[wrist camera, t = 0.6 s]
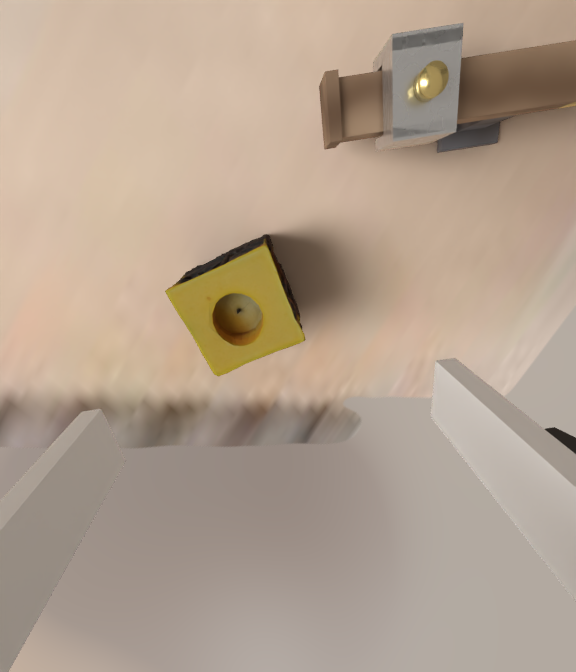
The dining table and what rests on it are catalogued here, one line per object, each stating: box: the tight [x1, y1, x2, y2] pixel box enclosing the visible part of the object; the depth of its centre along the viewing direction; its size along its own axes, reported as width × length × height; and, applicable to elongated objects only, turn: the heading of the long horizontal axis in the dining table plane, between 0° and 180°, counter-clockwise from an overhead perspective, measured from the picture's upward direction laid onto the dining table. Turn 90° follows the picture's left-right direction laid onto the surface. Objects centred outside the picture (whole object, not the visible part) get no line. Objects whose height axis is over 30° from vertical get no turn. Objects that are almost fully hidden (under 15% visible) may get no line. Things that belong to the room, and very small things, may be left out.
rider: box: [373, 23, 463, 152], centre depth 23 cm, size 6×5×5 cm
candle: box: [165, 235, 305, 376], centre depth 31 cm, size 10×10×10 cm
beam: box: [319, 40, 576, 153], centre depth 27 cm, size 7×32×8 cm, turn 98°
